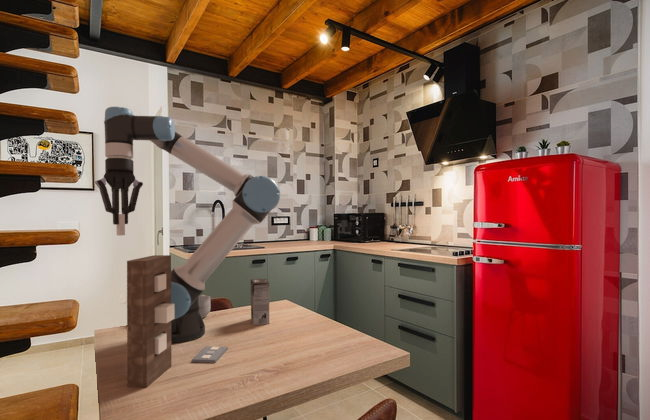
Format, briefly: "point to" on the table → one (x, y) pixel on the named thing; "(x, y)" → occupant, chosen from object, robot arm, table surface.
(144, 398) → the table surface
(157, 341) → the bottom key
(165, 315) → the middle key
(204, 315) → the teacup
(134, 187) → the robot arm
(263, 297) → the coffee box
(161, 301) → the switch panel
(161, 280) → the top key
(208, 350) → the pattern card
